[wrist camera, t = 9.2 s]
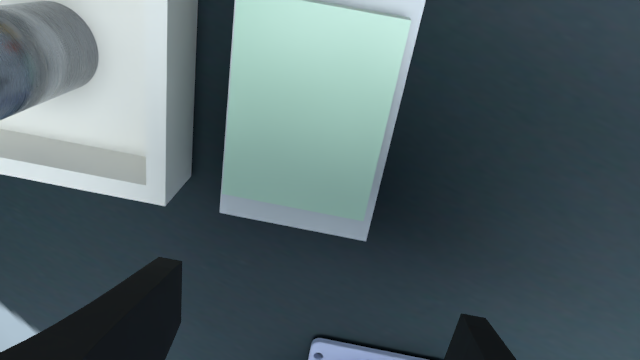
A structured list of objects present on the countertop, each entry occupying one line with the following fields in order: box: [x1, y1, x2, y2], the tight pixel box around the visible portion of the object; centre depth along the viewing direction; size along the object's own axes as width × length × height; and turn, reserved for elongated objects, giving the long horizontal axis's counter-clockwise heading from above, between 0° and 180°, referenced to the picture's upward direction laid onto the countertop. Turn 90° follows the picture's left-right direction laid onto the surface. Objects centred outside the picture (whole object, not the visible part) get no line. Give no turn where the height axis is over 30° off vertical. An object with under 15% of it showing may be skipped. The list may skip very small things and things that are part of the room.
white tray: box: [0, 0, 198, 206], centre depth 18 cm, size 10×12×3 cm
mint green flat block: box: [222, 0, 411, 221], centre depth 17 cm, size 8×6×1 cm
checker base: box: [219, 0, 426, 241], centre depth 19 cm, size 12×7×1 cm, turn 171°
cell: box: [0, 1, 99, 120], centre depth 16 cm, size 4×4×6 cm
